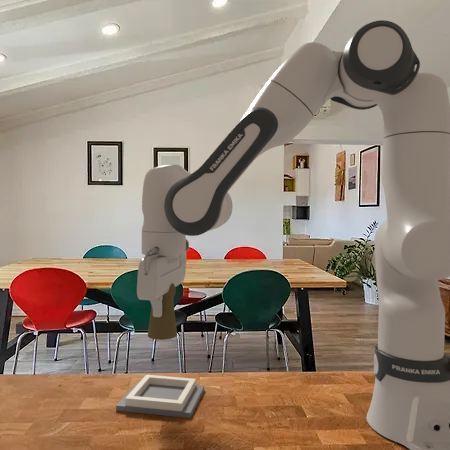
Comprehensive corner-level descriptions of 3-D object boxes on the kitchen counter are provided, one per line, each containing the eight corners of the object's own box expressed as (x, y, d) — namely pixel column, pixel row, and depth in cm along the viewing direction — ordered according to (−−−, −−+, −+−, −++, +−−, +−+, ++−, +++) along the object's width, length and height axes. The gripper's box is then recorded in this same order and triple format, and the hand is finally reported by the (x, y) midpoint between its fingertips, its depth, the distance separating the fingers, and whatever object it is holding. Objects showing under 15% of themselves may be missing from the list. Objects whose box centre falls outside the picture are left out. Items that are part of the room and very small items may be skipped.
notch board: (204, 390, 88) (204, 378, 88) (190, 418, 76) (190, 405, 76) (139, 384, 90) (139, 373, 90) (115, 410, 79) (115, 398, 78)
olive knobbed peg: (171, 340, 79) (172, 285, 79) (142, 338, 80) (143, 283, 80) (181, 331, 85) (181, 280, 85) (154, 329, 86) (154, 278, 86)
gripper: (161, 251, 71) (161, 328, 72) (191, 241, 91) (190, 302, 92) (128, 249, 72) (127, 325, 73) (164, 241, 92) (163, 300, 93)
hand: (162, 312), depth 83 cm, fingers closed on olive knobbed peg, 4 cm apart
